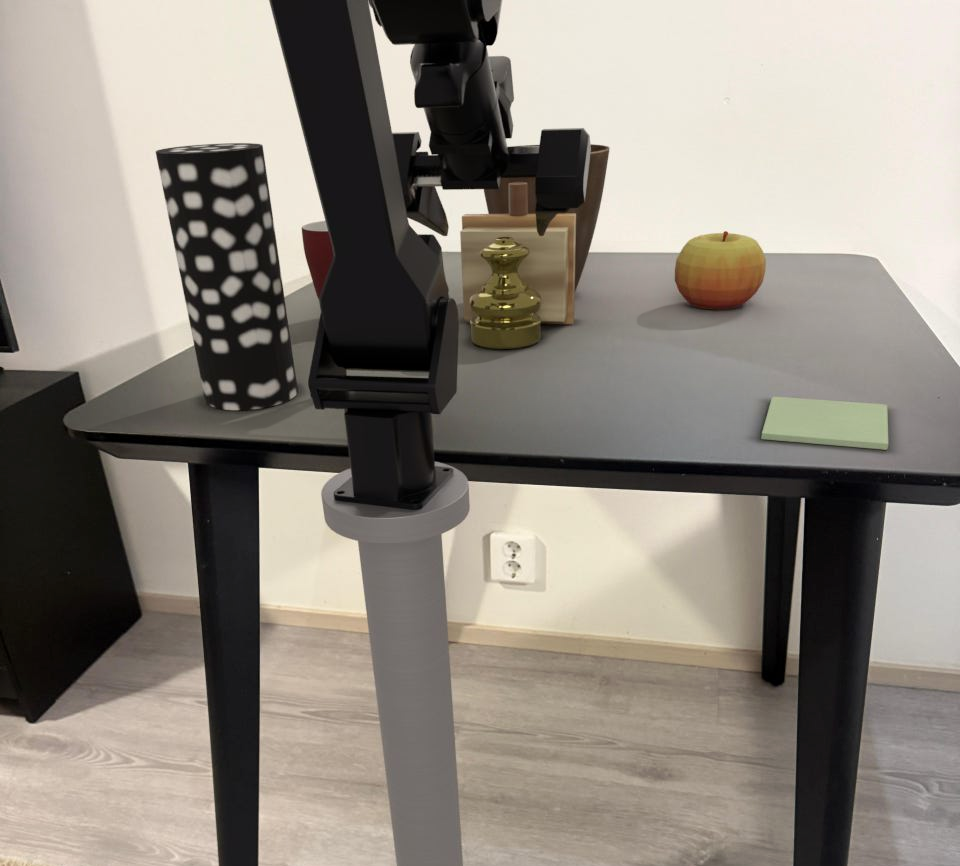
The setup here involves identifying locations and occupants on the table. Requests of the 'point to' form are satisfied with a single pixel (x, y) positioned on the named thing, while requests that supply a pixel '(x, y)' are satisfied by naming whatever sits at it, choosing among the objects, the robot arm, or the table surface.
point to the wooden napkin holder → (541, 269)
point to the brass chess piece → (505, 300)
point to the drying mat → (827, 422)
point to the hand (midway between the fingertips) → (493, 231)
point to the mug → (317, 252)
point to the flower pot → (584, 213)
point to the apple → (720, 270)
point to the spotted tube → (230, 272)
